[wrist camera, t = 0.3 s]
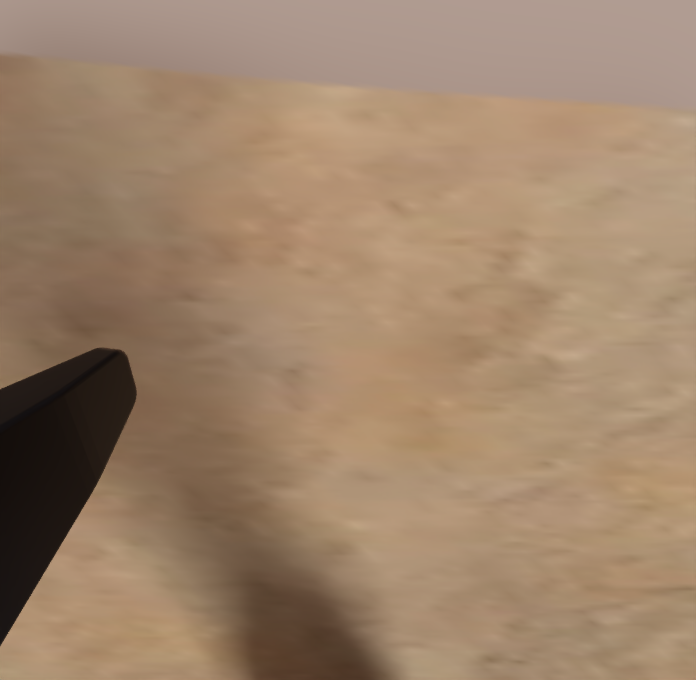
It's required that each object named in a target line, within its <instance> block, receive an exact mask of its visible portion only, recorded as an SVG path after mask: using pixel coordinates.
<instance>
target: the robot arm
mask: <svg viewBox="0 0 696 680" xmlns="http://www.w3.org/2000/svg"><path fill="white" fill-rule="evenodd" d="M136 395H137V393H136V386H135V382H134V378H133V375H132V371H131V368H130V364H129V360H128V357H127V355H126V354H125V353H124V352H123V351H121V350H117V349H109V348H96V349H93V350H91V351H89V352H86V353H84V354H82V355H79V356H77V357H75V358H72V359H70V360H68V361H65V362H63V363H61V364H58V365H56V366H54V367H51V368H49V369H47V370H44V371H42V372H40V373H37V374H35V375H33V376H30V377H28V378H26V379H23V380H21V381H19V382H16V383H14V384H12V385H9V386H7V387H4V388H2V389H0V646H1V644H2V642H3V641H4V639H5V637H6V636H7V634H8V632H9V631H10V629H11V627H12V626H13V624H14V622H15V621H16V619H17V617H18V616H19V614H20V612H21V611H22V609H23V607H24V606H25V604H26V602H27V601H28V599H29V597H30V596H31V594H32V592H33V591H34V589H35V587H36V586H37V584H38V582H39V581H40V579H41V577H42V576H43V574H44V572H45V571H46V569H47V567H48V566H49V564H50V562H51V561H52V559H53V557H54V556H55V554H56V552H57V551H58V549H59V547H60V546H61V544H62V542H63V541H64V539H65V537H66V536H67V534H68V532H69V530H70V529H71V527H72V525H73V524H74V522H75V520H76V519H77V517H78V515H79V514H80V512H81V510H82V509H83V507H84V505H85V504H86V502H87V500H88V499H89V497H90V495H91V494H92V492H93V490H94V488H95V486H96V485H97V483H98V481H99V479H100V477H101V475H102V473H103V471H104V469H105V467H106V465H107V463H108V460H109V458H110V456H111V454H112V452H113V450H114V447H115V445H116V443H117V441H118V439H119V437H120V434H121V432H122V430H123V428H124V426H125V424H126V421H127V419H128V417H129V415H130V413H131V411H132V409H133V406H134V404H135V401H136Z"/></svg>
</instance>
